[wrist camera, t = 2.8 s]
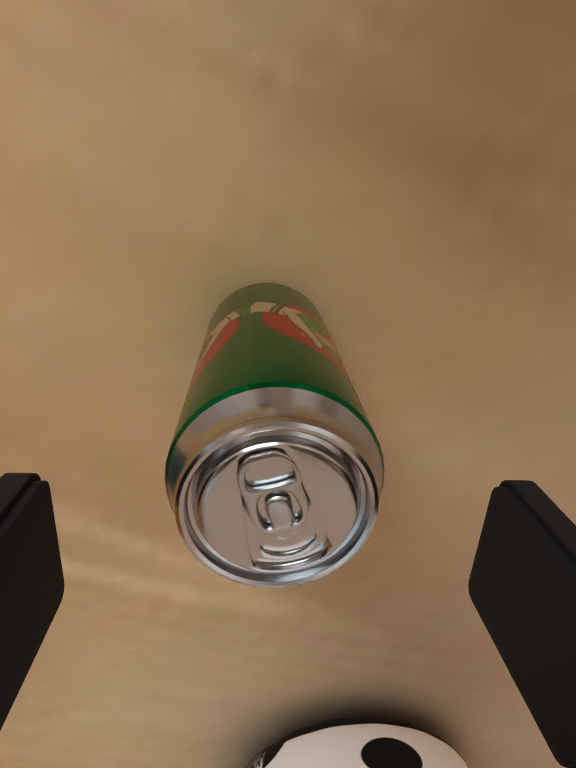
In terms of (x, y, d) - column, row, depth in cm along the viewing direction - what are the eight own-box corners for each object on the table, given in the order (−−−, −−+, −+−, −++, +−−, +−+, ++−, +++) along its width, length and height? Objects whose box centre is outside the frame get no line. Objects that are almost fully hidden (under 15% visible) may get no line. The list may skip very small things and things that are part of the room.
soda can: (227, 401, 22) (198, 622, 11) (193, 296, 20) (117, 438, 9) (333, 375, 22) (411, 574, 11) (310, 267, 20) (377, 376, 9)
